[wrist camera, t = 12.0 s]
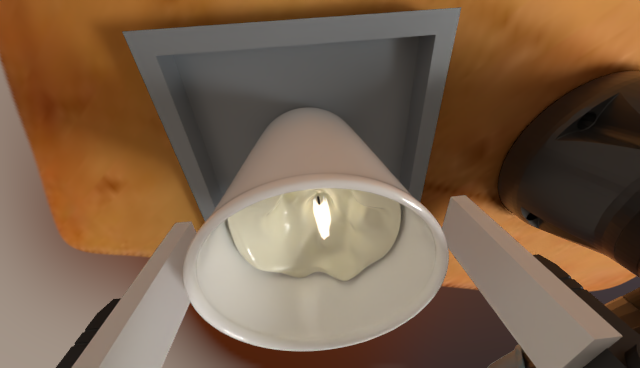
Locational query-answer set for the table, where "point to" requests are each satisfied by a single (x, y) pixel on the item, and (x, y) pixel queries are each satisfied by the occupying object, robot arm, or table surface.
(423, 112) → the tray
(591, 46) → the table surface
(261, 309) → the candle holder
